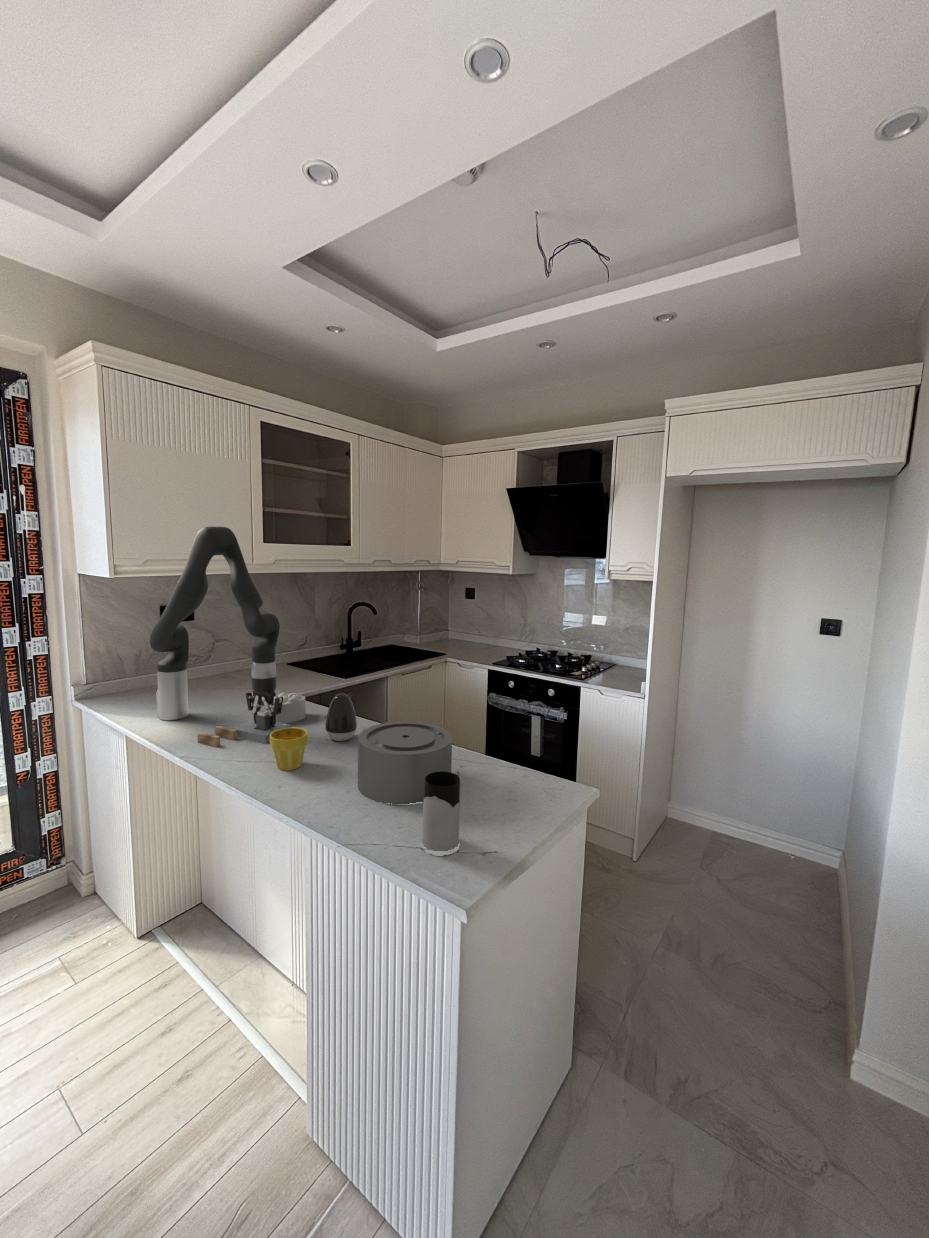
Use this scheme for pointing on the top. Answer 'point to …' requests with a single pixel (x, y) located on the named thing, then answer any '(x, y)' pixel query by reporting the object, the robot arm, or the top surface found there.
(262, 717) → the plug
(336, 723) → the dark grey egg shape
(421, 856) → the top surface
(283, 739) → the plant pot
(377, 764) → the container
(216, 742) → the pair of wooden planks
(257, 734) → the port
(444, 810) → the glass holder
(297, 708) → the white lumpy box
